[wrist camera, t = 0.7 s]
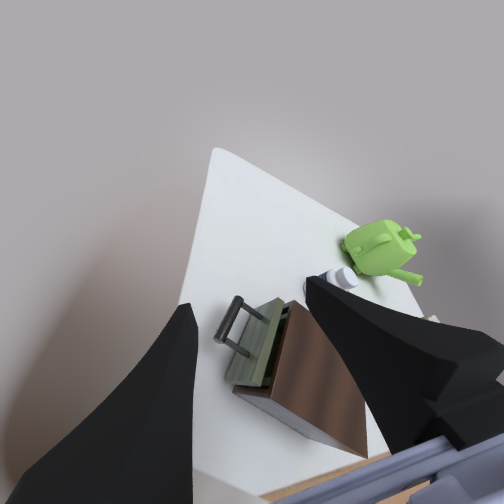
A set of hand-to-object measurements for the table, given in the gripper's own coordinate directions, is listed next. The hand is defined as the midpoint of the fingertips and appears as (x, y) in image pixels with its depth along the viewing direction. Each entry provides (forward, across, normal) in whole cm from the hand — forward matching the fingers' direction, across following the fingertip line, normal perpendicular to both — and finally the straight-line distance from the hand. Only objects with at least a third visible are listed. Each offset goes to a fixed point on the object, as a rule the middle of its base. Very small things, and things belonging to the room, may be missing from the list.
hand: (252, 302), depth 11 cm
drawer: (+9, -1, +18) cm, 20 cm away
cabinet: (+8, -4, +22) cm, 24 cm away
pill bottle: (+21, -16, +20) cm, 33 cm away
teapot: (+36, -43, +27) cm, 62 cm away
